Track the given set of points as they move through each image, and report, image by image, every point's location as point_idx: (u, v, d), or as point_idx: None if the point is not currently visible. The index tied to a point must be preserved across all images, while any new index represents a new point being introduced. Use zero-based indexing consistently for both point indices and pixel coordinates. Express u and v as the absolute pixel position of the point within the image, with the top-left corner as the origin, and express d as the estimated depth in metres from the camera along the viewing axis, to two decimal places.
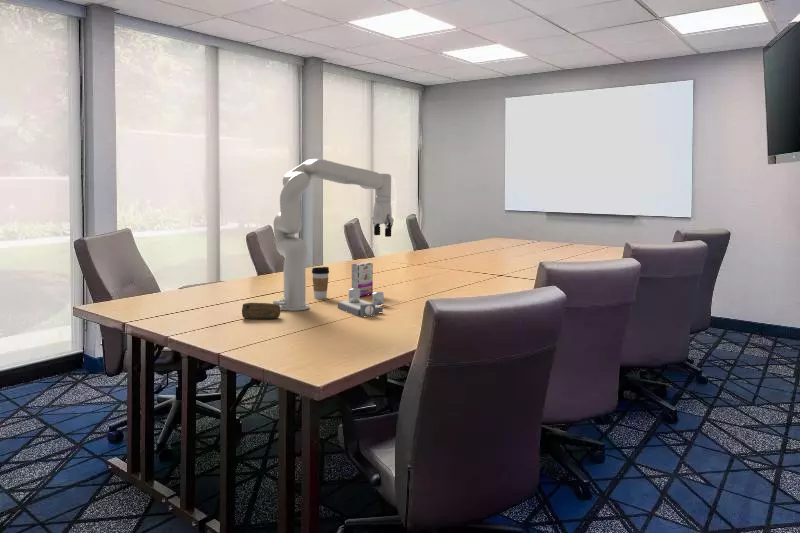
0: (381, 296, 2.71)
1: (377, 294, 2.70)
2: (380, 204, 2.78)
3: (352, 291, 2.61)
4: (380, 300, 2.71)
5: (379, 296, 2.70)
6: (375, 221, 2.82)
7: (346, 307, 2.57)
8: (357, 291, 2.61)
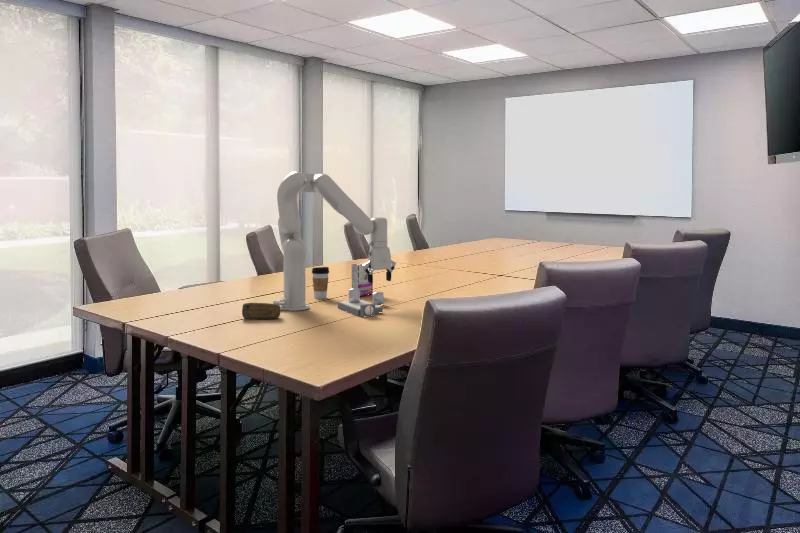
0: (381, 296, 2.71)
1: (377, 294, 2.70)
2: (386, 249, 2.69)
3: (352, 291, 2.61)
4: (380, 300, 2.71)
5: (378, 296, 2.70)
6: (379, 268, 2.68)
7: (346, 307, 2.57)
8: (357, 291, 2.61)
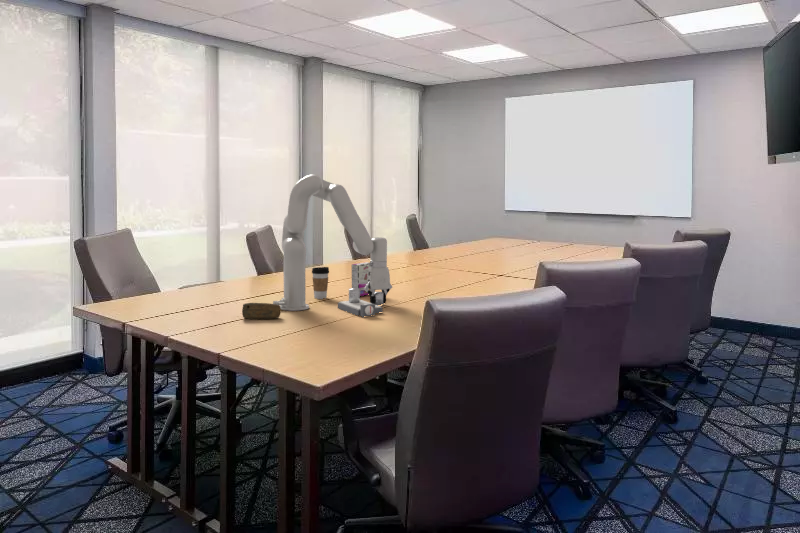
0: (381, 296, 2.71)
1: (377, 294, 2.70)
2: (385, 269, 2.70)
3: (352, 291, 2.61)
4: (380, 300, 2.71)
5: (379, 296, 2.70)
6: (378, 288, 2.69)
7: (346, 307, 2.57)
8: (357, 291, 2.61)
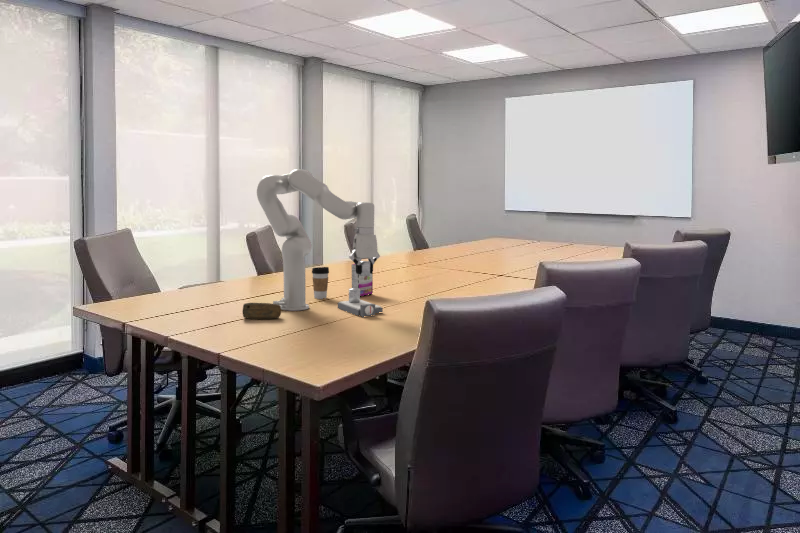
0: (368, 265, 2.52)
1: (363, 263, 2.52)
2: (372, 236, 2.52)
3: (352, 291, 2.61)
4: (367, 269, 2.52)
5: (365, 265, 2.52)
6: (364, 256, 2.51)
7: (346, 307, 2.57)
8: (357, 291, 2.61)
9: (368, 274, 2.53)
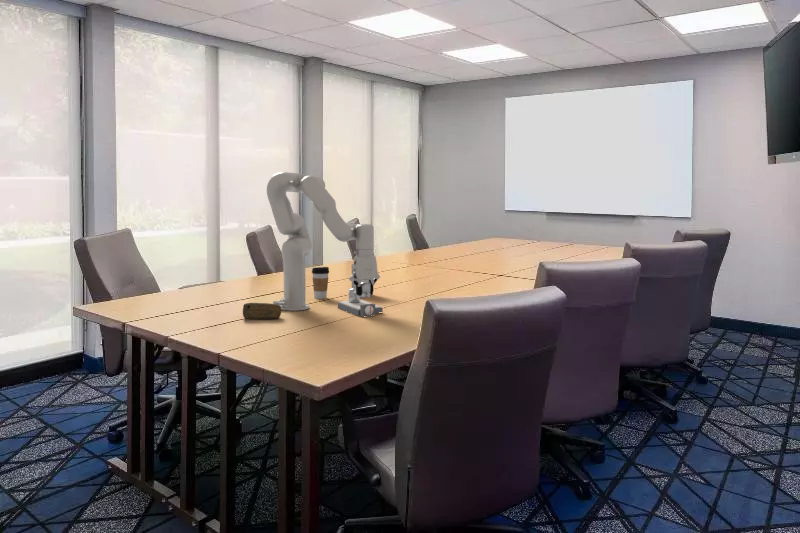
0: (368, 286, 2.53)
1: (364, 284, 2.53)
2: (372, 258, 2.53)
3: (352, 291, 2.61)
4: (367, 291, 2.53)
5: (365, 286, 2.53)
6: (364, 278, 2.52)
7: (346, 307, 2.57)
8: None
9: (368, 295, 2.54)
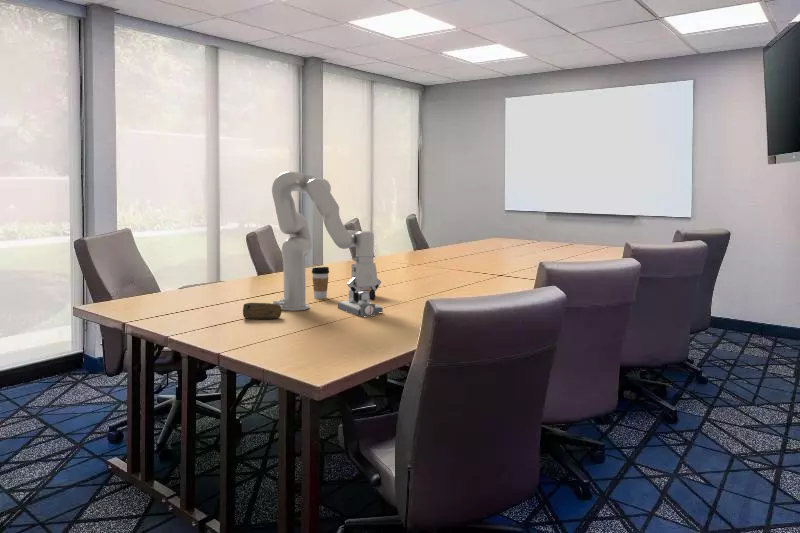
0: (367, 296, 2.54)
1: (363, 294, 2.53)
2: (372, 265, 2.53)
3: None
4: (366, 300, 2.54)
5: (364, 295, 2.53)
6: (364, 285, 2.52)
7: (346, 307, 2.57)
8: None
9: None
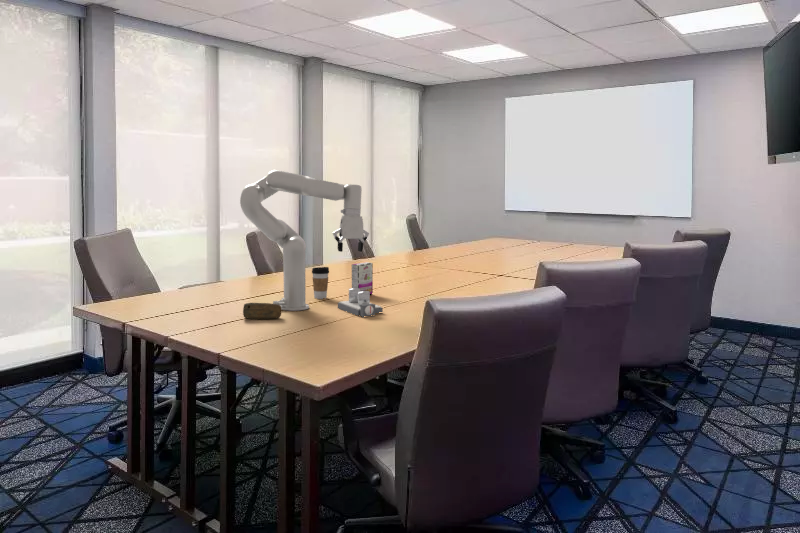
0: (367, 296, 2.54)
1: (363, 294, 2.53)
2: (358, 218, 2.59)
3: (352, 291, 2.61)
4: (366, 300, 2.54)
5: (364, 295, 2.53)
6: (350, 236, 2.58)
7: (346, 307, 2.57)
8: (357, 291, 2.61)
9: None
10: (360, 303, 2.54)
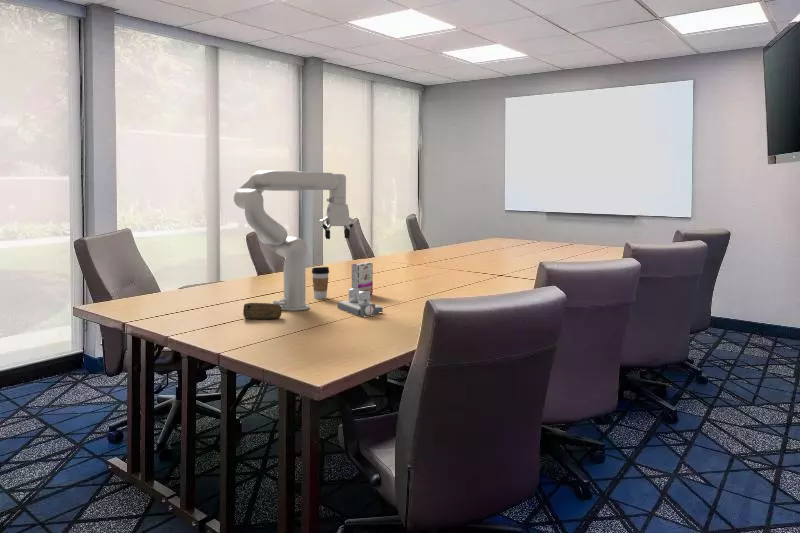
0: (368, 295, 2.54)
1: (364, 293, 2.53)
2: (344, 206, 2.69)
3: (352, 291, 2.61)
4: (367, 300, 2.54)
5: (365, 295, 2.53)
6: (337, 224, 2.68)
7: (346, 307, 2.57)
8: (357, 291, 2.61)
9: None
10: (361, 303, 2.54)
